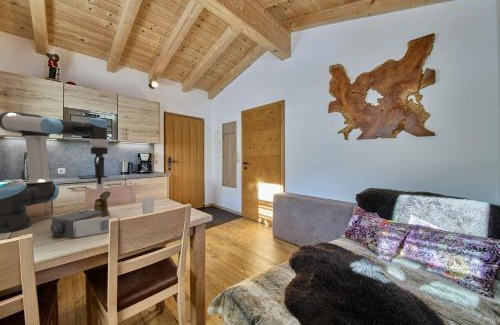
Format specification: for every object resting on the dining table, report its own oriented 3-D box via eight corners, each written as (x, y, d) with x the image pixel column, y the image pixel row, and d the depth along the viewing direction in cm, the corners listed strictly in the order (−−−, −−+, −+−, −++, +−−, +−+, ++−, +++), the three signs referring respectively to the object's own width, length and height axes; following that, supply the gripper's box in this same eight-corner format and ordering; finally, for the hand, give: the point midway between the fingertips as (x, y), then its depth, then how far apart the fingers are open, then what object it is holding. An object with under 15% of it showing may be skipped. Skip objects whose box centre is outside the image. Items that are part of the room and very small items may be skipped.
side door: (73, 237, 102) (73, 221, 102) (108, 230, 111) (108, 216, 110) (73, 238, 101) (72, 222, 100) (109, 232, 109) (108, 217, 109)
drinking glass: (146, 223, 124) (145, 199, 123) (139, 221, 128) (139, 197, 127) (156, 220, 130) (156, 197, 129) (150, 218, 133) (149, 195, 133)
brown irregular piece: (99, 220, 128) (98, 192, 127) (90, 216, 135) (89, 189, 134) (114, 216, 135) (114, 190, 134) (105, 213, 143) (105, 187, 142)
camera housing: (46, 237, 103) (45, 218, 102) (84, 224, 121) (83, 208, 120) (66, 240, 99) (66, 220, 99) (103, 227, 117) (102, 210, 117)
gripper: (93, 146, 117) (94, 187, 119) (87, 146, 105) (88, 192, 106) (109, 147, 121) (110, 186, 122) (105, 147, 108) (106, 191, 109)
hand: (100, 189), depth 114 cm, fingers closed
